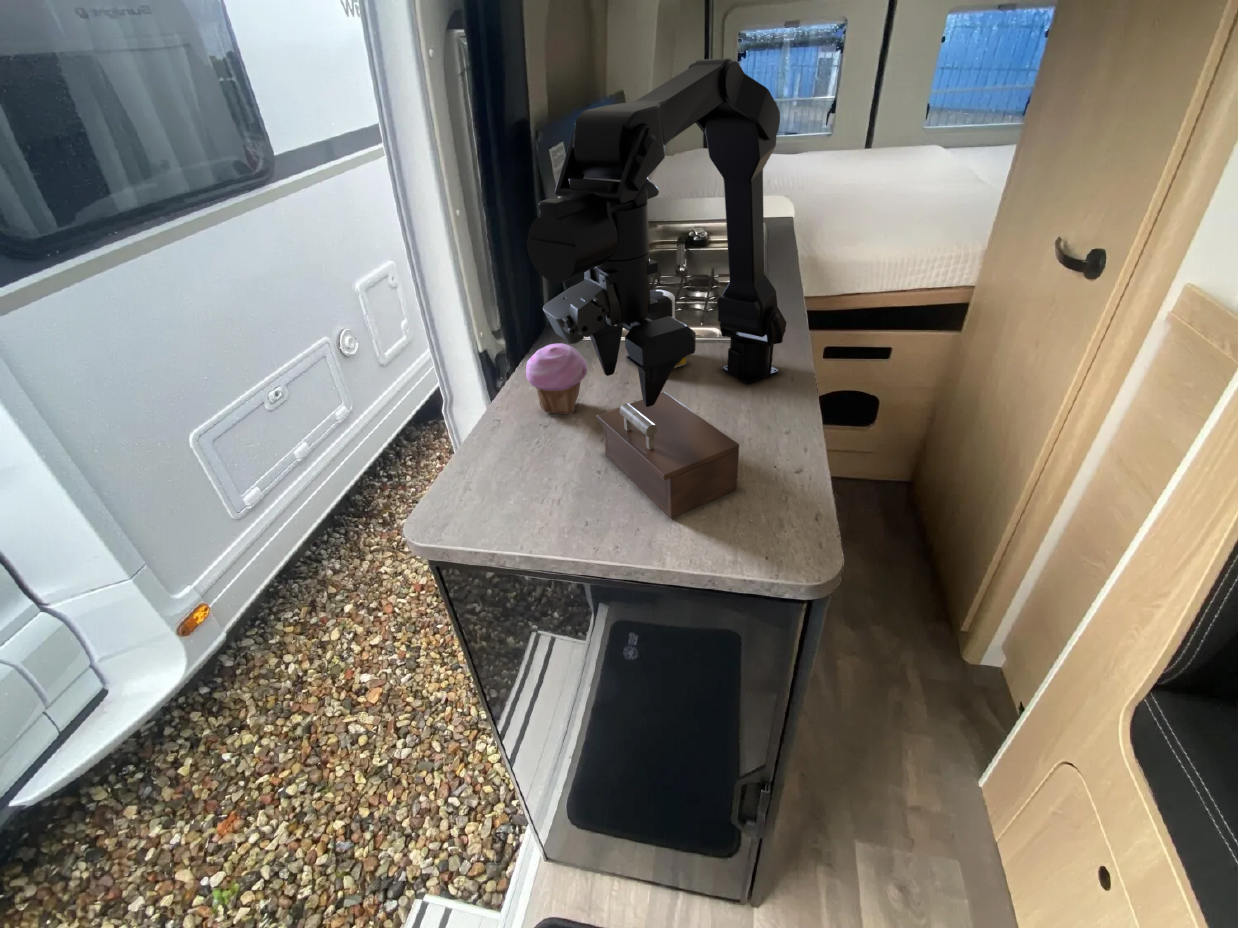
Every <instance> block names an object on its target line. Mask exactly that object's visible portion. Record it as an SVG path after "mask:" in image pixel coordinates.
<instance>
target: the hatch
mask: <svg viewBox="0 0 1238 928" xmlns="http://www.w3.org/2000/svg"><path fill="white" fill-rule="evenodd" d="M596 421H597V422H598V423H599V424H600V425H601V426H602V427H603V426H604V427H605V428H606V429H607V430H608V431H609V432H611V433H612V434H613V435H614V436H615V437H616V438H617V439H618V440H619V441H621V442H622V443H623V444H624V445H625V446H626V447H627V448H628V449H630V450H631V451H632V452H633V453H634V454H635V455H636V456H637V457H638V458H640V459H641V460H642V461H643V462H644V463H645V464H646V465H647V466H648V467H650V468H651V469H652V470H653V471H654V472H655V473H656V474H657V475H659V476H660V477H661V478H662V479H663V480H664V481H665V480H667V479H670V478H672V477H675V476H677V475H680V474H682V473H684V472H687V471H689V470H692V469H694V468H696V467H699V466H701V465H704V464H706V463H708V462H711V461H713V460H716V459H718V458H721V457H723V456H725V455H728V454H730V453H733V452H735V451H737V450H739V451H740V444H739V443H738V442H736V441H735V440H733V439H732V438H731V437H729V436H728V435H726V434H725V433H723V431H721V430H720V429H718V428H717V427H715V425H713V424H712V423H709V421H707V420H705V419H704V418H703V417H701V416H699V415H698V414H697V413H696V412H694V411H693V410H692V409H689V408H688V407H687V406H685V405H684V404H682V403H681V402H680V401H678V400H677V399H675V398H674V397H673V396H671V395H670V394H668V393H667V392H665V391H661V393H660V395H659V397H658V399H657V400H656V402H655V404H654V405H653V406H650V407H646V406H645V405H644V401H643V398H642V399H640V400H637V401H633V402H631V403H623V404H621V406H619V407H617V408H613V409H611V410H608V411H605V412H603V413H600V414H597V415H596Z"/></svg>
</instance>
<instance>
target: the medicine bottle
mask: <svg viewBox="0 0 1238 928" xmlns="http://www.w3.org/2000/svg"><path fill="white" fill-rule="evenodd" d="M650 298H652V299H654V300H656V301H658V302H659V311H657V312H654V313H650V314H648V317H647V318H648V319H650V320H651V321H653V320H657V319H661V318H664V317H668V316H670V317H672V318H674V319H676V302H675V300H676V297H675V295H674V293H672V292H670V291H667V290H664V289H652V290H651V289H650ZM676 320H677V319H676ZM677 321H679V320H677ZM628 332H629V331H627V333H628ZM686 364H687V356H686V357H684V358H681V359H679V361H678V363H677V364H676V366H675V367H674V369H676V368H678V367H679V368H680V367H682V366H685V365H686Z"/></svg>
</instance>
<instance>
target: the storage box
mask: <svg viewBox="0 0 1238 928" xmlns="http://www.w3.org/2000/svg"><path fill="white" fill-rule="evenodd" d="M602 429H603V441H604V451H605V457H606V458H607V459H608V460H609V461H610V462H612V464H614V466H616V467H617V469H619V471H621V472H622V473H623V474H624V475H625V476H626V477H627V478H628V479H629V480H630V481H631V482H632V483H633V484H634V485H635V486H637V488H638V489H640V490H641V492H642V493H644V494H645V495H646V496H647V498H649V499H650V500H651V501H652V502H653V503H654V504H655V505H656V506H657V507H658V508H659V509H660V510H662V512H663V513H665V515H666V516H667V517H668V518H670V519H674V518H677V517H679V516H681V515H683V514H685V513H687V512H690V511H692V510H695V509H697V508H699V507H701V506H703V505H705V504H708V503H710V502H712V501H714V500H717V499H719V498H722V497H724V496H726V495H728V494H730V493H732V492H736V491H737V489H738V473H739V457H740V449H739V450H737V451H735V452H733V453H730V454H728V455H725V456H723V457H721V458H718V459H716V460H713V461H711V462H708V463H706V464H704V465H701V466H699V467H696V468H694V469H692V470H689V471H687V472H684V473H682V474H680V475H677V476H675V477H672V478H670V479H667V480H665V481H664V480H663V479H662V478H661V477H660V476H659V475H657V474H656V473H655V472H654V471H653V470H652V469H651V468H650V467H648V466H647V465H646V464H645V463H644V462H643V461H642V460H641V459H640V458H638V457H637V456H636V455H635V454H634V453H633V452H632V451H631V450H630V449H628V448H627V447H626V446H625V445H624V444H623V443H622V442H621V441H619V440H618V439H617V438H616V437H615V436H614V435H613V434H612V433H611V432H609V431H608V430H607V429H606V428H605V427H604V426H603V425H602Z"/></svg>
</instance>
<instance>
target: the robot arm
mask: <svg viewBox="0 0 1238 928" xmlns="http://www.w3.org/2000/svg"><path fill="white" fill-rule="evenodd" d="M694 124H696V126H697V127H698V128H699V130H700V131H701V132H702V133H703V134H704V135H705V139H706V145H707V151H708V157H709V159H710V161H711V162H712V164H713V165H714V167H715V168H716V170H717V171H718V172H719V174H720V175H721V177H722V181H723V191H724V193H723V194H724V209H725V224H726V226H725V227H726V242H727V243H726V244H727V260H728V277H729V279H728V280H729V282H728V284H727V285H726V287H725V289H724V290H723V292H722V293H721V295H720V296H719V297H718V298H717V300H716V305H717V311H718V312H717V322H718V323H719V329H720V333H721V337H724V338H725V337H727V338H730V339H729V342H730V343H729V348H728V349H727V365H724V366H722V371H724V372H726V373H727V374H729V375H731V376H732V377H734V378H736V379H737V380H739V381H740V382H742V383H744V384H746V385H750V384H753V383H756V382H758V381H761V380H764V379H766V378H770V377H772V376H775V375H778V374H779V369H778V368H775V367H774V366H773V355H774V345H777V344H778V345H779V344H782V343H783V342H784V336H785V333H786V327H787V320H786V319H785V317H784V315H783V313H782V312H781V310H780V308H779V307H778V297H777V291H776V289H775V287H774V285H773V284H772V283H771V282H770V280H769V278H768V277H767V276H766V273H765V232H764V231H765V227H764V224H765V223H764V219H765V218H764V169H765V166H766V165H767V163H768V161H769V159H770V158H771V155H772V154H773V153H774V150H775V148H776V146H777V135H778V132H779V128H780V124H781V112H780V109H779V106H778V104H777V101H776V100H775V99H774V97H773V95H772V94H771V92H770V90H769V89H768V87H766V86H765V85H763V84H761V83H760V82H759V81H757V80H755V79H754V78H752V77H751V76H750V75H748V74H746V73H745V72H744V69H743V68H742V67H741V65H740V63H739V62H738V61H737V60H733V59H732V58H728V57H727V58H706V59H705V58H703V59H697V60H696V61H695V62H692V63H690V64H689V66H688V67H687V69H685V70H684V71H682V72H680V73H679V74H677V75H675V76H674V77H672V78H671V79H669V80H667V81H666V82H664V83H663V84H661V85H659V86H658V87H656V88H654V89H652V90H651V91H649V92H648V93H646V94H644V95H642V96H641V97H639V98H638V99H636V100H633V101H628V102H621V103H614V104H607V105H606V104H605V105H601V106H598V107H594V108H589V109H586V110H584V111H582V112H581V113H580V114H579V115H578V116H577V118H576V120H575V121H574V127H575V128H574V129H573V131H572V134H571V138H570V140H569V143H568V147H567V151H566V153H565V157H564V161H563V164H562V167H561V169H560V173H559V177H558V180H557V182H556V187H555V190H554V193H555V196H556V197H557V198H546V199H544V200H540V201H539V203H538V209H539V217H537V218H536V219H535V220H533V222H532V224H531V225H530V228H529V231H528V235H527V237H528V238H527V239H526V248H527V253H528V257H529V259H530V261H531V263H532V265H533V267H534V268H535V270H536V271H537V272H538V273H539V274H540V276H541V277H543V278H544V279H545V280H547V281H548V282H551V283H555V284H559V283H564V282H567V281H569V280H571V279H573V278H575V277H578V276H579V275H581V274H584V279H583V280H582V281H580V282H578V283H577V284H573V285H572V286H569V288H567V289H565V290H564V291H562V292H560V293H559V294H558V295H556V296H555V297H553V298H551V300H549V301H548V302H545V304H544V305H543V307H542V310H543V312H544V314H545V316H546V318H547V320H548V321H549V323H550V325H551V327H552V329H553V331H554V333H555V334H556V335H557V336H559V337H560V338H561V339H563V340H564V341H565V342H566V344H568V345H575V344H577V343H579V342H581V341H582V340H584V338H590V341H591V343H592V345H593V348H594V351H595V353H596V356H597V358H598V360H599V363H600V366H601V368H602V371H603V374H604V375H605V376H607V377H609V376H612V375H614V374H615V371H616V367H617V363H618V359H619V358H618V357H619V353H620V348H621V347H620V346H621V341H622V336H623V331H624V330H626V331H627V333H626V335H625V336H624V344H625V345H624V348H625V351H626V352H627V356H625V359H626V360H627V361H628V362H630V363H631V364H633V365H634V366H636V368H637V372H638V378H639V379H638V380H639V383H640V384H639V385H640V391H641V397H642V399H643V401H644V405H645V406H646V407H650V406H653V405H654V404H655V402H656V400H657V399H658V397H659V395H660V393H662V392H663V389H664V387H665V385H666V383H667V381H668V379H669V378H670V375H671V374H672V372H673V370H674V369H675V368H674V367H675V366H676V364H677V363H678V361H679V359H681V358H684V357H686V358H687V357H688V356H691V355H693V354H695V353H696V348H697V347H696V346H697V345H696V342H697V341H696V338H697V335H696V334H697V333H696V331H694V330H693V329H692V328H691V327H689V326H688V325H686V324H685V323H683V322H681V321H680V320H678V321H677V319H676V318H675V319H674V318H672V317H670V316H668V317H664V318H661V319H657V320H653V321H651V320H650V319H648V318H647V317H648V314H650V313H654V312H657V311H659V302H658V301H656V300H654V299H652V298H650V290H651V275H652V274H657V273H659V262H657V261H656V260H653V259H651V258H650V236H649V235H650V233H649V203H648V201H649V200H651V199H653V198H656V197H657V196H659V193H660V190H659V188H658V186H656V184H654V183H653V182H652V181H650V180H649V178H648V177H650V175H651V174H652V173H653V172H654V171H655V170H656V169H657V168H658V166H659V165H660V164H661V163H662V162H663V161H664V159H666V158H665V157H666V146H667V144H669V142H671V141H672V140H673V139H674V138H676V137H677V136H679V135H680V134H682V133H683V132H684V131H686V130H688V129H689V128H690V127H692V126H693V125H694ZM628 331H629V332H628Z"/></svg>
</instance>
